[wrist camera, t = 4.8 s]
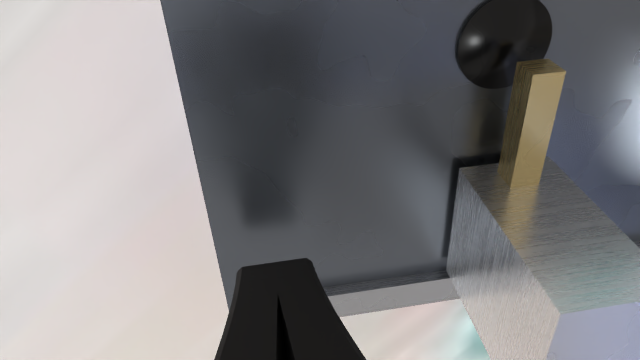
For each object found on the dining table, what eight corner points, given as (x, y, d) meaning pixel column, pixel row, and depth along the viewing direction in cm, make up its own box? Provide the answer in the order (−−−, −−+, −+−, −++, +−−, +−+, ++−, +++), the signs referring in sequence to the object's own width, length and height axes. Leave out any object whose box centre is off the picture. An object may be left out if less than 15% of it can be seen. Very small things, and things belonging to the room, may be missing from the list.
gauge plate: (942, -90, 11) (1410, -37, 6) (769, 210, 15) (977, 356, 11) (166, -24, 9) (116, 104, 5) (231, 288, 14) (234, 493, 9)
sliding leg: (574, 48, 10) (754, 160, 6) (523, 258, 13) (626, 406, 9) (473, 59, 9) (605, 181, 6) (446, 269, 13) (524, 424, 9)
